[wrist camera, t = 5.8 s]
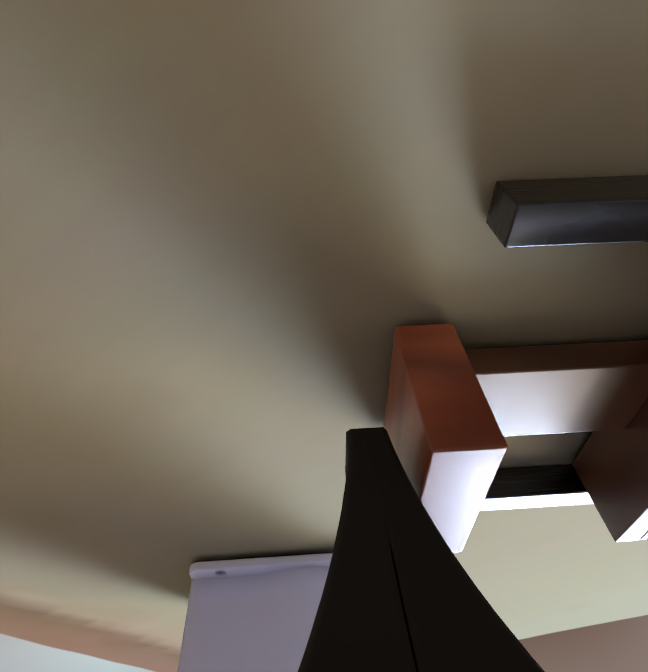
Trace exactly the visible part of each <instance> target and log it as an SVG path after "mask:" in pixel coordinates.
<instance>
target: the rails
mask: <svg viewBox="0 0 648 672" xmlns="http://www.w3.org/2000/svg"><path fill="white" fill-rule="evenodd" d="M486 222H487V224H488V226H489V227H490V228H491V230H492V231H493V232H494V234H495V235H496V236H497V238H498V239H499V240H500V242H501V243H502V244H503V246H504V247H506V248H510V247H532V246H555V245H578V244H601V243H623V242H646V241H648V176H622V177H596V178H570V179H545V180H519V181H497V182H496V185H495V189H494V193H493V197H492V201H491V205H490V209H489V213H488V217H487V221H486ZM581 504H594V503H593V501H592V499H591V498H590V496H589V494H588V492H587V490H586V489H585V487H584V485H583V483H582V481H581V480H580V478H579V476H578V474H577V473H576V471H575V469H574V467H573V465H559V466H543V467H527V468H510V469H498V470H497V472H496V475H495V477H494V479H493V481H492V484H491V486H490V488H489V491H488V493H487V495H486V497H485V500H484V502H483V504H482V506H481V509H480V511H488V510H503V509H519V508H534V507H550V506H565V505H581Z"/></svg>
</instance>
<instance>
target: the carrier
mask: <svg viewBox="0 0 648 672" xmlns="http://www.w3.org/2000/svg"><path fill="white" fill-rule="evenodd" d="M384 428H385V429H386V430H387V432H388V434H389V437H390V440H391V442H392V444H393V447H394V449H395V451H396V454H397V456H398V458H399V460H400V462H401V464H402V466H403V468H404V470H405V472H406V474H407V476H408V478H409V480H410V482H411V484H412V486H413V488H414V490H415V491H416V493H417V495H418V497H419V498H420V500H421V502H422V504H423V506H424V507H425V509H426V511H427V513H428V514H429V516H430V518H431V519H432V521H433V523H434V524H435V526H436V527H437V529H438V531H439V532H440V534H441V535H442V537H443V539H444V540H445V542H446V543H447V545H448V546H449V548H450V549H451V551H452V552H453V553H457V552H461V551H462V549H463V547H464V545H465V543H466V540H467V538H468V536H469V534H470V531H471V529H472V527H473V524H474V522H475V520H476V518H477V515H478V513H479V511H480V509H481V506H482V504H483V502H484V500H485V497H486V495H487V493H488V491H489V488H490V486H491V484H492V481H493V479H494V477H495V475H496V472H497V470H498V468H499V466H500V463H501V461H502V459H503V457H504V454H505V452H506V450H507V444H506V441H505V439H504V436H521V435H538V434H555V433H572V432H589V431H593V433H592V434H591V436H590V437H589V439H588V441H587V442H586V444H585V445H584V447H583V448H582V450H581V452H580V453H579V455H578V456H577V458H576V459H575V461H574V463H573V464H572V465H573V467H574V469H575V471H576V473H577V474H578V476H579V478H580V480H581V481H582V483H583V485H584V487H585V489H586V490H587V492H588V494H589V496H590V498H591V499H592V501H593V503H594V505H595V507H596V508H597V510H598V512H599V514H600V515H601V517H602V519H603V521H604V523H605V524H606V526H607V528H608V530H609V532H610V533H611V535H612V537H613V539H614V540H615V542H622V541H637V540H639V539H640V540H644V539H648V340H641V341H622V342H603V343H583V344H564V345H545V346H525V347H506V348H487V349H467V350H464V347H463V345H462V343H461V341H460V339H459V336H458V334H457V332H456V330H455V327H454V325H453V324H432V325H412V326H397V327H396V328H395V335H394V343H393V351H392V360H391V368H390V377H389V385H388V394H387V402H386V410H385V419H384Z"/></svg>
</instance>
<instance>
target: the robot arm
mask: <svg viewBox="0 0 648 672" xmlns="http://www.w3.org/2000/svg"><path fill="white" fill-rule="evenodd" d="M345 472H346V483H345V490H344V497H343V504H342V511H341V516H340V521H339V526H338V531H337V536H336V540H335V545H334V550H333V553H325V554H310V555H295V556H280V557H265V558H250V559H235V560H220V561H205V562H195V563H193V564H192V565H191V566H190V571H189V575H190V576H191V578H192V583H191V590H190V596H189V602H188V608H187V615H186V621H185V627H184V633H183V640H182V646H181V652H180V658H179V665H178V671H177V672H544V670H543V669H542V668H541V667H540V666H539V665H538V663H537V662H536V661H535V660H534V659H533V658H532V657H531V656H530V654H529V653H528V651H527V650H526V649H525V648H524V647H523V645H522V644H521V643H520V642H519V640H518V639H517V638H516V637H515V635H514V634H513V633H512V632H511V631H510V629H509V628H508V627H507V626H506V624H505V623H504V622H503V621H502V619H501V618H500V617H499V616H498V615H497V613H496V612H495V611H494V609H493V608H492V607H491V605H490V604H489V603H488V601H487V600H486V599H485V597H484V596H483V595H482V593H481V592H480V591H479V589H478V588H477V587H476V585H475V584H474V583H473V581H472V580H471V578H470V577H469V576H468V574H467V573H466V571H465V570H464V569H463V567H462V566H461V564H460V563H459V561H458V560H457V558H456V557H455V555H454V554H453V552H452V551H451V549H450V548H449V546H448V545H447V543H446V542H445V540H444V539H443V537H442V535H441V534H440V532H439V531H438V529H437V527H436V526H435V524H434V523H433V521H432V519H431V518H430V516H429V514H428V513H427V511H426V509H425V507H424V506H423V504H422V502H421V500H420V498H419V497H418V495H417V493H416V491H415V490H414V488H413V486H412V484H411V482H410V480H409V478H408V476H407V474H406V472H405V470H404V468H403V466H402V464H401V462H400V460H399V458H398V456H397V454H396V451H395V449H394V447H393V444H392V442H391V440H390V437H389V434H388V432H387V430H386V429H385V428H384V427H378V428H361V429H350V430H349V431H347V432H346V466H345Z"/></svg>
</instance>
